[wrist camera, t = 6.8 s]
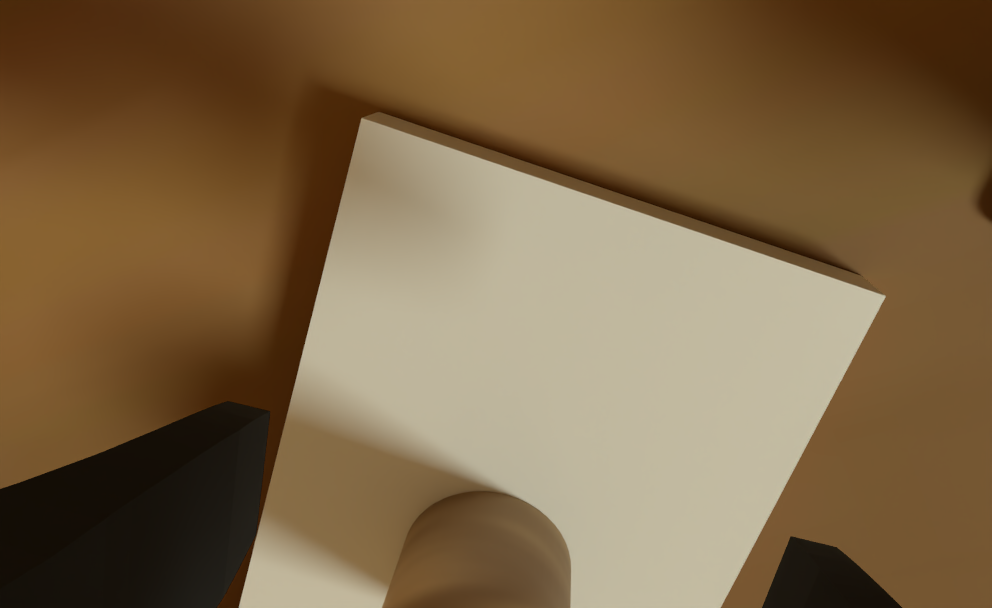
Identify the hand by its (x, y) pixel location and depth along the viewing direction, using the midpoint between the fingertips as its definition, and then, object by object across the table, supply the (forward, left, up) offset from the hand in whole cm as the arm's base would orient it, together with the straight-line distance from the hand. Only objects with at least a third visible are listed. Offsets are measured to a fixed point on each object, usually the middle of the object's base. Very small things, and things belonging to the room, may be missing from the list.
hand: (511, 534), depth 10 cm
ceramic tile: (-1, +7, -9) cm, 12 cm away
